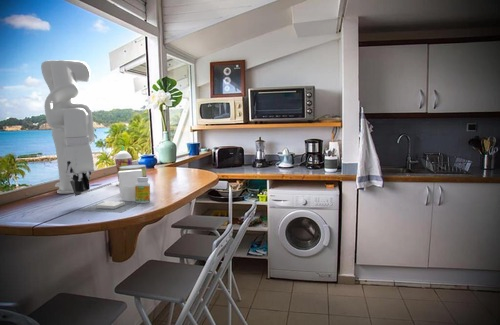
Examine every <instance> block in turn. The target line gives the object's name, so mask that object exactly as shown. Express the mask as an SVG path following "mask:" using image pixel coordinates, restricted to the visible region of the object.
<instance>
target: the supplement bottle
mask: <svg viewBox="0 0 500 325" xmlns="http://www.w3.org/2000/svg"><path fill="white" fill-rule="evenodd" d="M137 180H138V183H136V185H135V200H134V201H135V202H134V203H142V204H147V203H149V202H150V201H151V183H150V182H149V177H148V176H147V177H138V178H137Z"/></svg>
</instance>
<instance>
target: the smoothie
mask: <svg viewBox="0 0 500 325" xmlns="http://www.w3.org/2000/svg"><path fill="white" fill-rule="evenodd" d="M114 157H115V158H114V160H115V161H114V162H115V167H116V174H117V180H118V182H119V175H118V172H119V171H120V169H119V167H122V166H128V165H133V156H132V155H131V154H130V153H129V151H126V150H124V145H121V150H120V151H119V152H118V153H116V155H115V156H114Z"/></svg>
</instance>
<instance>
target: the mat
mask: <svg viewBox="0 0 500 325" xmlns="http://www.w3.org/2000/svg"><path fill="white" fill-rule="evenodd" d="M103 202H104V201H100V202H97V203H96V204H92V205H90V206H87V207H84V208H82V209H79V210H77V211H78V212H95V213H96V212H97V213H98V212H99V213H121V214H122V213H124V212H126V211H128V210H130V209H132V208H135V207H137V206H139V205H142V204H143V203H136V202H132V201H124V202H125V205H123V206H121V207H119V208H116V209H101V208H96V205H98V204H101V203H103Z"/></svg>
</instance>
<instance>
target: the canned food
mask: <svg viewBox="0 0 500 325" xmlns="http://www.w3.org/2000/svg"><path fill="white" fill-rule="evenodd" d="M119 169H120V171H129V170H140V169H141V170H142V177H148V176H147V175H148V174H147V165H146V164H132V165H128V166H122V167H119Z"/></svg>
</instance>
